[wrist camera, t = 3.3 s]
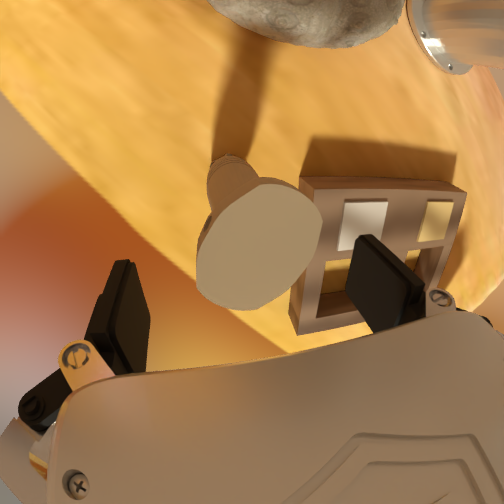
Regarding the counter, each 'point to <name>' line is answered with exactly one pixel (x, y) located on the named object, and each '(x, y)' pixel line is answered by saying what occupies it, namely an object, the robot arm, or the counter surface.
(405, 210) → the socket block
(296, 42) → the grey flattened rounded lump
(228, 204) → the handle
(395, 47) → the counter surface
